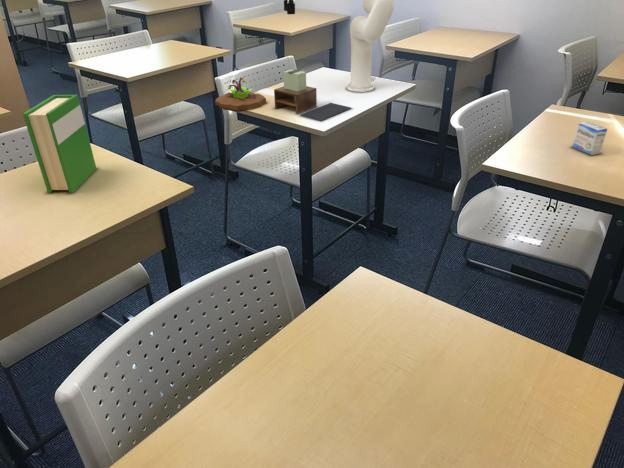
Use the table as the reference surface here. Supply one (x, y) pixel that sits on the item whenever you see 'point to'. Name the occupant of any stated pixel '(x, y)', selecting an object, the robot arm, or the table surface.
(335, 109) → the desk pad
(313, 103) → the shelf
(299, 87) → the green square container
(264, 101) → the plant
